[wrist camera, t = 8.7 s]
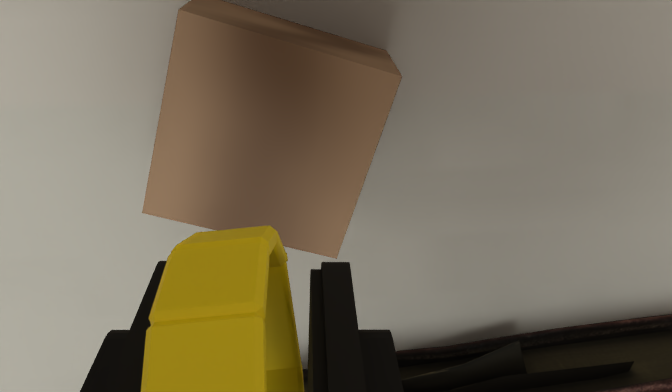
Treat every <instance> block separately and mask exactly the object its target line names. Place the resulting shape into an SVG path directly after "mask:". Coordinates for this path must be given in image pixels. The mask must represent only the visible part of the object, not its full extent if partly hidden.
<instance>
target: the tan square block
mask: <svg viewBox="0 0 672 392" xmlns="http://www.w3.org/2000/svg"><path fill="white" fill-rule="evenodd" d="M401 78H402V75H401V74H400V72H399V70H398V69H397V67H396V65H395V64H394V62H393V60H392V59H391V57H390V55H389V54H388V52H387V51H385V50H382V49H379V48H376V47H372V46H369V45H366V44H362V43H359V42H356V41H353V40H349V39H346V38H343V37H340V36H336V35H333V34H330V33H326V32H323V31H320V30H317V29H313V28H310V27H307V26H304V25H300V24H297V23H294V22H290V21H287V20H284V19H281V18H277V17H274V16H271V15H268V14H264V13H261V12H258V11H254V10H251V9H248V8H245V7H241V6H238V5H235V4H232V3H228V2H225V1H222V0H191V1H190V2H188V3H187V4H186V5H184V6H183V7H181V8H180V9H179V10H178V16H177V21H176V27H175V32H174V38H173V44H172V49H171V55H170V60H169V66H168V72H167V77H166V83H165V88H164V94H163V99H162V105H161V111H160V116H159V122H158V127H157V133H156V139H155V144H154V150H153V155H152V161H151V167H150V172H149V178H148V183H147V189H146V195H145V200H144V206H143V211H142V213H145V214H149V215H154V216H158V217H162V218H166V219H171V220H175V221H179V222H183V223H188V224H192V225H196V226H200V227H205V228H209V229H213V230H217V231H218V230H228V229H238V228H248V227H258V226H269V225H270V226H271V227H272V228H274V229H275V230H276V231H277V232H278V235H279V237H280V240H281V242H282V245H283V246H285V247H290V248H294V249H298V250H302V251H307V252H311V253H315V254H319V255H324V256H328V257H332V258H336V259H337V256H338V253H339V250H340V247H341V245H342V242H343V239H344V236H345V234H346V231H347V228H348V225H349V222H350V220H351V217H352V214H353V211H354V209H355V206H356V203H357V200H358V197H359V195H360V192H361V189H362V186H363V184H364V181H365V178H366V175H367V172H368V170H369V167H370V164H371V161H372V159H373V156H374V153H375V150H376V147H377V145H378V142H379V139H380V136H381V134H382V131H383V128H384V125H385V122H386V120H387V117H388V114H389V111H390V109H391V106H392V103H393V100H394V97H395V95H396V92H397V89H398V86H399V84H400V81H401Z"/></svg>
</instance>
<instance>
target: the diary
mask: <svg viewBox="0 0 672 392" xmlns="http://www.w3.org/2000/svg"><path fill="white" fill-rule="evenodd" d="M395 352H396V357H397V362H398V367H399V371H400V376H401V381H402V386H403V391H404V392H672V315H664V316H655V317H645V318H637V319H629V320H621V321H613V322H605V323H596V324H588V325H580V326H572V327H565V328H557V329H551V330H545V331H538V332H532V333H525V334H519V335H513V336H506V337H500V338H494V339H487V340H481V341H475V342H470V343H464V344H458V345H452V346H447V347H437V348H423V349H414V350H405V351H395ZM302 370H303V382H304V392H308V369H302Z"/></svg>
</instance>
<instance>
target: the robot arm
mask: <svg viewBox="0 0 672 392" xmlns="http://www.w3.org/2000/svg"><path fill="white" fill-rule="evenodd" d="M166 262H167V261H159V262H158V264H157V266H156V268H155V271H154V273H153V275H152V278H151V280H150V283H149V285H148V287H147V290H146V292H145V295H144V297H143V299H142V302H141V304H140V307H139V309H138V311H137V314H136V316H135V319H134V321H133V323H132V326H131V328H130V330H111V331H110V332H109V333H108V334H107V336H106V337H105V339H104V341H103V343H102V345H101V348H100V350H99V352H98V354H97V356H96V358H95V360H94V363H93V365H92V367H91V369H90V371H89V373H88V375H87V378H86V380H85V382H84V384H83V386H82V388H81V390H80V392H141V384H142V373H143V362H144V351H145V339H146V330H147V329H148V328H149V327H150V326H151V323H150V321H149V315H150V312H151V309H152V306H153V303H154V300H155V296H156V293H157V290H158V287H159V284H160V281H161V278H162V274H163V271H164V268H165V265H166ZM308 392H404V391H403V386H402V381H401V376H400V371H399V367H398V362H397V357H396V352H395V347H394V343H393V338H392V334H391V332H390V330H358V323H357V315H356V308H355V300H354V292H353V285H352V277H351V269H350V263H349V262H322V263H321V269H311V274H310V311H309V349H308Z"/></svg>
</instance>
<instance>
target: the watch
mask: <svg viewBox="0 0 672 392" xmlns="http://www.w3.org/2000/svg"><path fill="white" fill-rule="evenodd" d="M286 261H288V259H287V253H285V250H284V247H283V245H282V242H281V240H280V237H279V235H278V232H277V231H276V230H275V229H274V228H272V227H271V226H270V225H269V226H258V227H248V228H238V229H228V230H218V231H208V232H198V233H195V234H193V235H192V236H190V237H189V238H187V239H185V240H184V241H182V242H181V243H179V244H177V245H176V246H175V248H174V249H173V250H172V251H171V254H170V255H169V256H168V259H167V262H166V265H165V268H164V271H163V274H162V278H161V281H160V284H159V287H158V290H157V293H156V296H155V300H154V303H153V306H152V309H151V312H150V315H149V321H150V323H151V326H150V327H149V328H148V329H147V330H146V339H145V351H144V362H143V373H142V384H141V392H304V382H303V370H302V364H301V357H300V350H299V344H298V337H297V330H296V324H295V317H294V310H293V304H292V297H291V290H290V283H289V277H288V270H287V263H286Z"/></svg>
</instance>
